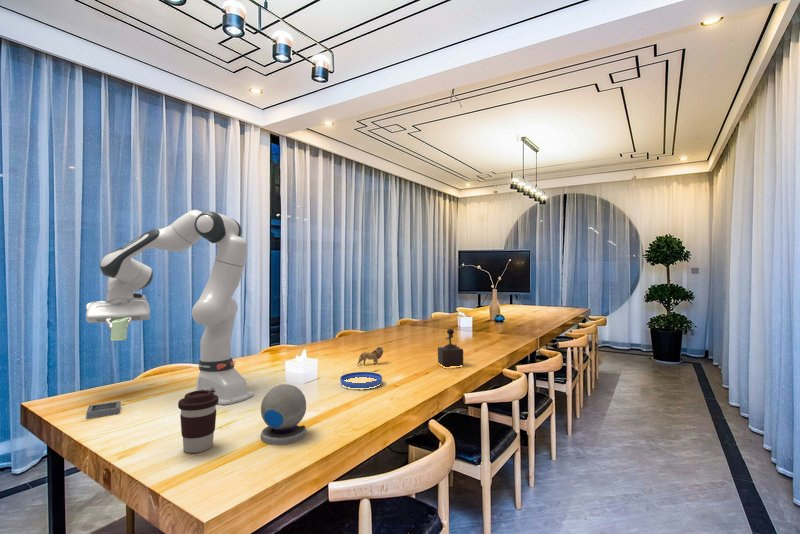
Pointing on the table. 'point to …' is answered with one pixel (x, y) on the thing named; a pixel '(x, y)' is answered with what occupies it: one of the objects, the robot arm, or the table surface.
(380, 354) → the lion figurine
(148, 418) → the table surface
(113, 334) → the candle
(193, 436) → the coffee cup
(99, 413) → the holder collar
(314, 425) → the table surface
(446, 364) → the black block with stem
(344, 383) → the blue ring
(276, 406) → the webcam
